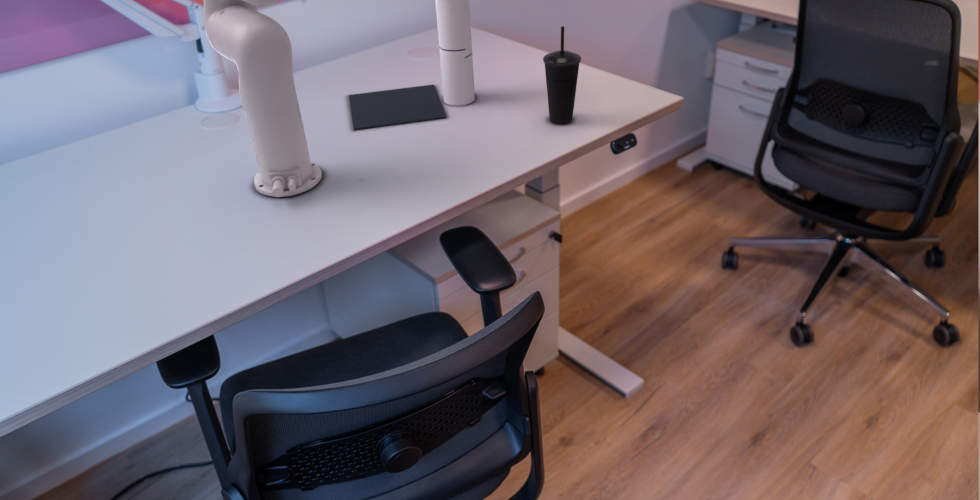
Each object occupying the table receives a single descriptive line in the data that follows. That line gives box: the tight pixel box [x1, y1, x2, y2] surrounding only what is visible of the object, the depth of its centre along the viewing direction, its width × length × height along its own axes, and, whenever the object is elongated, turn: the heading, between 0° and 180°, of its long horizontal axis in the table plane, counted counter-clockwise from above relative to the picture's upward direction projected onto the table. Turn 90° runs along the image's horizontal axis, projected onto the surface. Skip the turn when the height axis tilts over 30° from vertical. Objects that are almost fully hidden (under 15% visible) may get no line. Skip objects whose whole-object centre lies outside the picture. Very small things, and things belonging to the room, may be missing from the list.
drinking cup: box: [542, 25, 582, 126], centre depth 149 cm, size 8×8×20 cm
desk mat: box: [348, 84, 447, 131], centre depth 164 cm, size 18×20×1 cm
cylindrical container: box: [434, 0, 476, 107], centre depth 159 cm, size 7×7×25 cm
